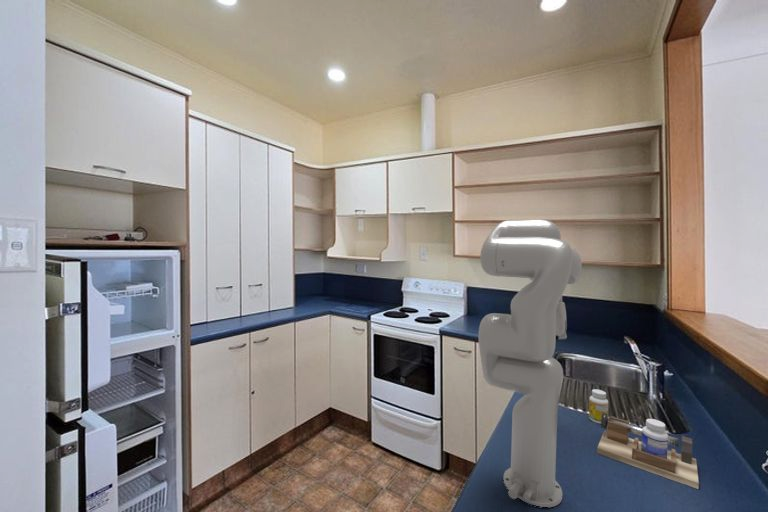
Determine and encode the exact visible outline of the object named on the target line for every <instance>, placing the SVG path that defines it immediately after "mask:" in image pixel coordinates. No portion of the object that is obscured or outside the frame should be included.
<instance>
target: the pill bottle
mask: <svg viewBox="0 0 768 512" xmlns="http://www.w3.org/2000/svg"><path fill="white" fill-rule="evenodd" d="M641 428H642V436H641V442H642V444H641V451H643V452H646V453H650V454H653V455H656V456H659V457H662V458H665V459H667V451H668V450H669V449H668V447H669V444H668V436H669V435H668V433H667V432H666V424H665V423H664V422H663V421H661V420H658V419H654V418H647V419H646V420H645V426H643V427H641Z"/></svg>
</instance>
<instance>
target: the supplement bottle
mask: <svg viewBox="0 0 768 512" xmlns="http://www.w3.org/2000/svg"><path fill="white" fill-rule="evenodd" d="M588 402H589V403H588V419H589V420H590V421H591V422H594V423H596V424H598V425H599V424H600V425H601V419H602V413H607V414H608V415H609V400H608V399H607V392H605V391H603V390H601V389H598V388H597V389H595V388H594V389H592V390H591V395H590V396H589V398H588Z"/></svg>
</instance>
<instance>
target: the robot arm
mask: <svg viewBox="0 0 768 512" xmlns="http://www.w3.org/2000/svg"><path fill="white" fill-rule="evenodd" d="M561 236H562V235H561V231H560V228H559V227H558V225H557V224H555V223H554V222H552V221H550V220H547V219H541V218H540V219H536V218H535V219H533V218H532V219H508V220H503V221H501V222H499V223H498V224H496V225H495V226H494V227H493V229H492V230H491V231H490V233H489V235H488V236H487V237H486V239H485V240H484V241H483V244H482V247H481V248H480V256H479V258H480V266H481V268H482V270H483V271H484V272H485V273H486V274H487V275H490V276H493V277H504V278H505V277H507V278H521V279H523V278H525V279H529V280H530V281H531V282H529V283H528V284H526V285H525V286H524V287H522V288H521V289H520V290H519V291H518V292H517V293H516V294H515V295H514V296H513V298H512V299H511V301H510V314H509V313H495V312H493V313H488V314H486V315H484V317H483V318H482V319H481V321H480V322H479V323H480V324H479V327H478V348H479V353H480V354H479V355H480V362H481V369H482V374H483V378H484V380H485V382H486V383H487V384H489V385H490V386H492V387H495V388H498V389H503V390H507V391H511V392H515V393H520V394H523V396H521V398H520V399H518V400H517V401H516V402H515V404H514V406H513V409H512V415H511V422H512V423H511V449H510V450H511V452H510V467H509V468H507V469H506V470H504V473H503V478H502V479H503V480H504V481H503V480H502V481H503V485H504V484H505V485H504V487H505V486H506V487H507V488H506V487H505V488H506V490H507V489H508V490H509V491H508V490H507V494H508V496H509V497H510V498H511V499H513V500H516V499H517V497H518V498H520V499H522V500H524V501H526V502H528V503H531V504H534V505H536V506H540V507H539V508H542V507H548V508H552V507H553V508H554V507H556V506H559V504H560V503H561V502H562V501H563V489H562V486H561V485H560V484H559V482H558V481H557V480H556V464H557V463H556V462H557V438H558V437H557V434H558V433H557V432H558V431H557V428H558V413H559V412H558V411H559V402H560V395H561V391H562V387H563V386H562V385H563V380H564V369H563V366H562V364H561V362H559V361H558V360H557V359H556V358H554V357H553V355H554V353H555V350H556V341H557V340H566V339H567V338H568V336H567V329H568V328H567V327H568V326H567V325H568V323H567V311H566V304H565V302H564V301H563V294H564V293H565V291H566V288H567V285H575V284H577V283H579V281H580V280H581V277H582V272H583V270H582V269H583V268H582V266H583V264H582V258H581V255H580V254H579V253H578V251H577V250H575V249H573V248H572V247H571V245H570V244H569V243H567V242H566V241H565V240H563V239H562V237H561ZM536 506H535V507H536Z"/></svg>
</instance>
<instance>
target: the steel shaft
mask: <svg viewBox="0 0 768 512" xmlns="http://www.w3.org/2000/svg"><path fill="white" fill-rule="evenodd" d="M608 420H609V421H612V422H616V423H619V424H623V425H626V426H628V432H629V433H631V434H634V435H638V436H641V437H642V428H643V427H640V426H637V425H633V424H630V423H629V424H626V423H623V422H620V421H616V420H613V419H609V413H608V414H607V413H602V419H601V424H600V425H601V426H600V427H601V429H603V430H607V426H608ZM668 445H671V446H674V447H677V448H679V447H680V446H679V445H680V438H678V437H673V436H670V435H668Z"/></svg>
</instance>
